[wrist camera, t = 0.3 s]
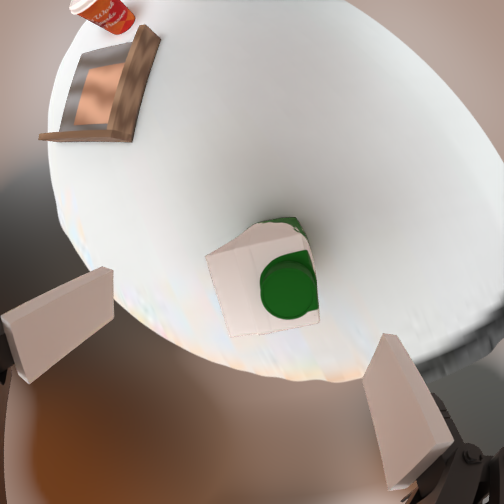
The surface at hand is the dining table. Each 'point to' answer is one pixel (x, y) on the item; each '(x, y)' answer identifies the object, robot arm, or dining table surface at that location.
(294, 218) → the milk carton
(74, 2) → the paper cup
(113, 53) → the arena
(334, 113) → the dining table surface
